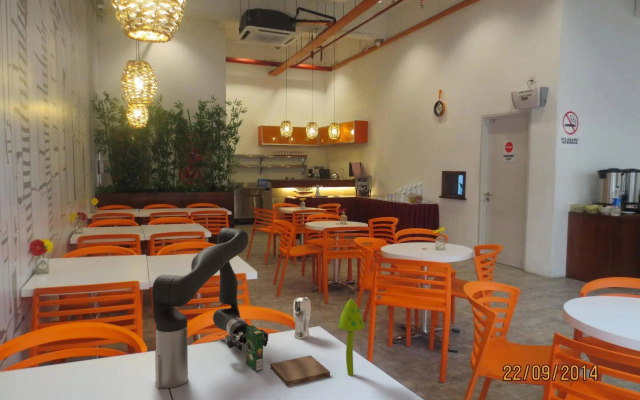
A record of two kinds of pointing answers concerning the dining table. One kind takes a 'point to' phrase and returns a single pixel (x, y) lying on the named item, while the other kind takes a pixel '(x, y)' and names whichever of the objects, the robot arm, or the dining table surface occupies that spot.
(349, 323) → the mushroom
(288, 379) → the walnut board
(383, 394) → the dining table surface
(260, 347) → the coffee box
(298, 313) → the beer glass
